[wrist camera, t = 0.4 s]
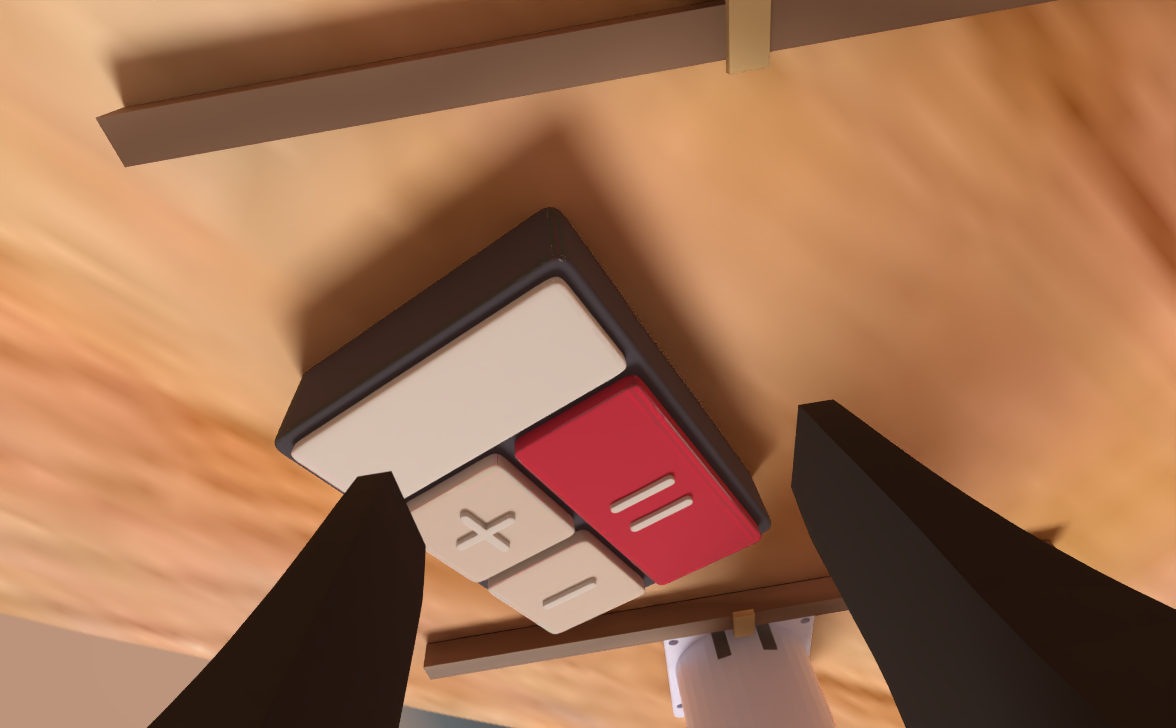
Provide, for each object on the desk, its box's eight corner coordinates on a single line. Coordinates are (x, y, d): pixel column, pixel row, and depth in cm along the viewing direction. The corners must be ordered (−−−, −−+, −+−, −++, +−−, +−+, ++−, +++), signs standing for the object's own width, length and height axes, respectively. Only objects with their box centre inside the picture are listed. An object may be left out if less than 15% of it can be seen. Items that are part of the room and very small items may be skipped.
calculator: (552, 650, 26) (257, 464, 17) (546, 564, 29) (297, 374, 21) (783, 545, 23) (564, 262, 14) (747, 463, 26) (553, 197, 18)
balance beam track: (1026, 588, 32) (1053, 621, 30) (449, 684, 32) (445, 722, 31) (1433, -280, 13) (1562, -313, 12) (48, -25, 14) (-17, -23, 12)
